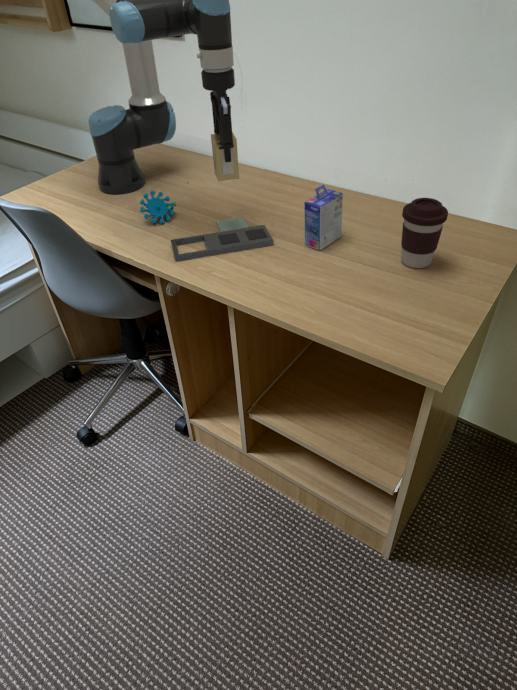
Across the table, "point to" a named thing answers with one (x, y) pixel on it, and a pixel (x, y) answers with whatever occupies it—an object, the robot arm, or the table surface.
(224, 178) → the wooden speaker box
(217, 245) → the rail
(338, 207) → the ink cartridge box
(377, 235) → the table surface
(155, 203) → the blue spiky knobbed toy
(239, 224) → the translucent green panel
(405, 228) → the coffee cup
